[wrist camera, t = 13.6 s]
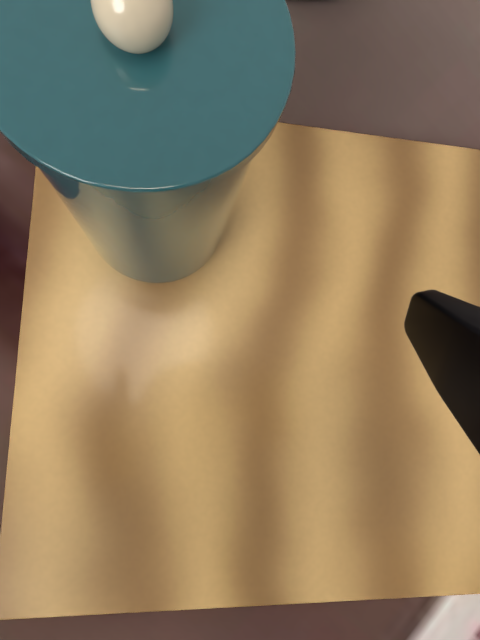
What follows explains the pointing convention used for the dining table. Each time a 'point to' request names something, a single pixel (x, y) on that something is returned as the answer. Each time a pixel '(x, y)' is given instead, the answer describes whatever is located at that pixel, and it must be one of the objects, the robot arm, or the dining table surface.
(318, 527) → the mat
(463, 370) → the robot arm
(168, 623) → the dining table surface
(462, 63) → the dining table surface
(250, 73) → the pot
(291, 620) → the dining table surface
